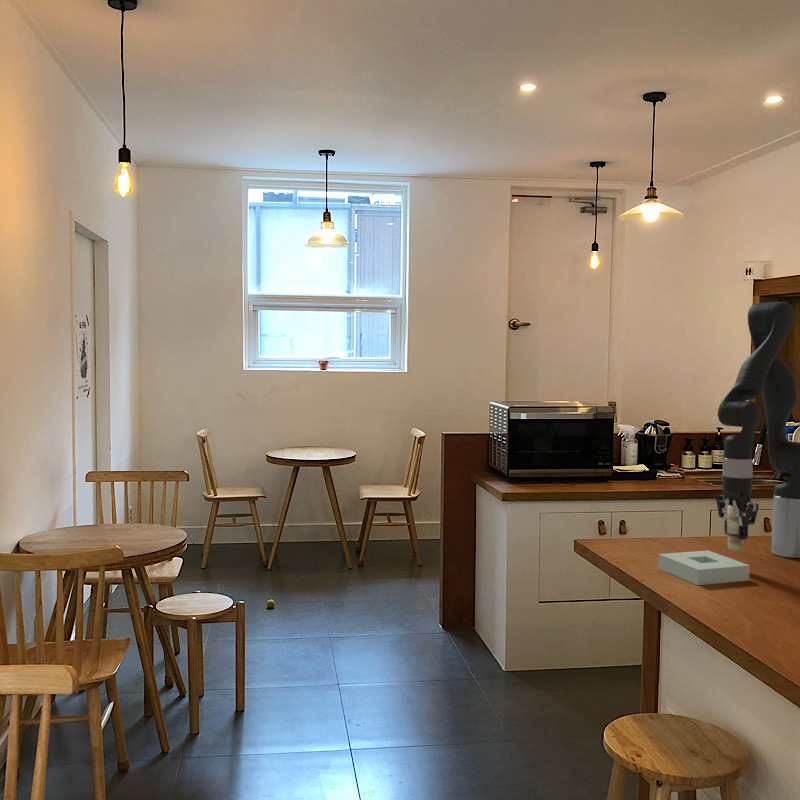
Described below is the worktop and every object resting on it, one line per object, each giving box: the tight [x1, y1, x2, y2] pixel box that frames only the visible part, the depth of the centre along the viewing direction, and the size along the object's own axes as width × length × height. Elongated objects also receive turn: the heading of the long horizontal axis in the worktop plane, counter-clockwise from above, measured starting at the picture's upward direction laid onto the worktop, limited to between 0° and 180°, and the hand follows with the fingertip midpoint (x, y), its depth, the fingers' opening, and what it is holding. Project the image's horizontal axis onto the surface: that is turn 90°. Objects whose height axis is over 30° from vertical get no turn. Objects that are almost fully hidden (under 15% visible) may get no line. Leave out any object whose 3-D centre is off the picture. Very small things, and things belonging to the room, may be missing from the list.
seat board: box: [657, 550, 751, 586], centre depth 214 cm, size 16×16×4 cm
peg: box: [726, 505, 745, 552], centre depth 219 cm, size 5×5×12 cm
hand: (735, 536), depth 220 cm, fingers closed on peg, 4 cm apart
